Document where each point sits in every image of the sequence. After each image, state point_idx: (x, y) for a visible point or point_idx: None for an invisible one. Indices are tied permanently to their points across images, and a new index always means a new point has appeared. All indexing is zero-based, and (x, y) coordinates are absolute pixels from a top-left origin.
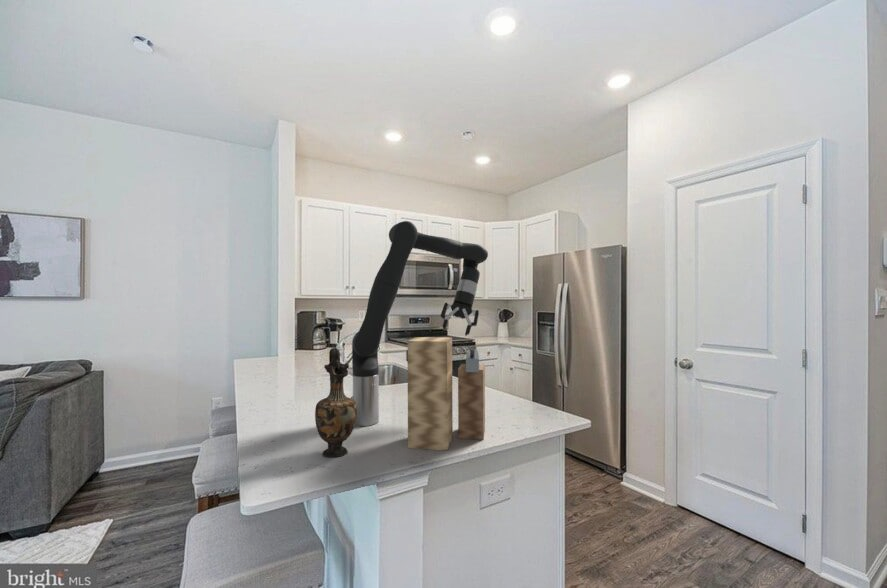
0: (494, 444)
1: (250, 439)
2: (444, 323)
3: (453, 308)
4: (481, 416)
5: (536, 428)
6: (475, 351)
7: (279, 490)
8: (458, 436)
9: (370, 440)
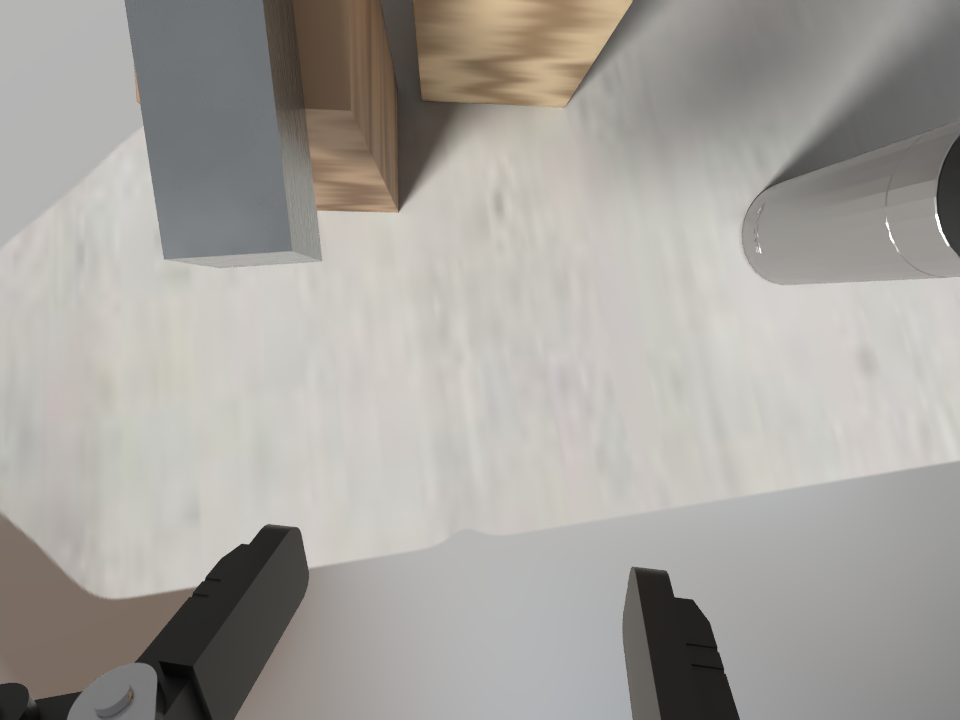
0: None
1: None
2: (699, 676)
3: None
4: None
5: (81, 244)
6: (177, 145)
7: None
8: (396, 84)
9: (719, 31)
